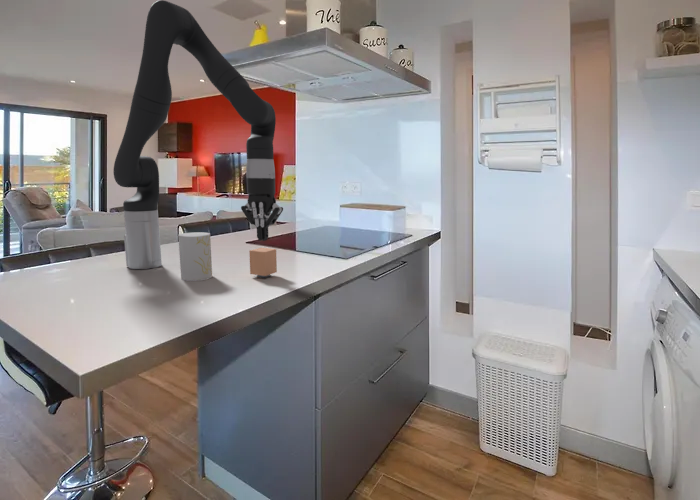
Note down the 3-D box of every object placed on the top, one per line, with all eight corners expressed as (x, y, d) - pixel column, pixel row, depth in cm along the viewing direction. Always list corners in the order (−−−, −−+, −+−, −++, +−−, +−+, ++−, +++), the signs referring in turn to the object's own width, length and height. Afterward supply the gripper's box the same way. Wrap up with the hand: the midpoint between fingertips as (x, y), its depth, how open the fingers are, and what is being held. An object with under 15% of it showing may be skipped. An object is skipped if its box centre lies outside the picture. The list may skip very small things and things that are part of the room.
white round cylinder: (202, 281, 112) (199, 237, 110) (174, 279, 114) (172, 235, 112) (217, 274, 120) (215, 232, 118) (191, 273, 122) (189, 231, 120)
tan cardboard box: (250, 273, 117) (249, 250, 116) (261, 270, 122) (261, 247, 120) (265, 276, 115) (264, 252, 114) (276, 272, 119) (276, 249, 118)
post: (257, 277, 118) (256, 252, 116) (262, 275, 120) (262, 250, 119) (264, 278, 117) (264, 253, 115) (270, 276, 119) (269, 251, 118)
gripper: (232, 176, 113) (234, 240, 116) (272, 176, 107) (274, 244, 110) (250, 176, 120) (252, 237, 123) (289, 176, 114) (290, 240, 117)
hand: (262, 240), depth 116 cm, fingers closed
